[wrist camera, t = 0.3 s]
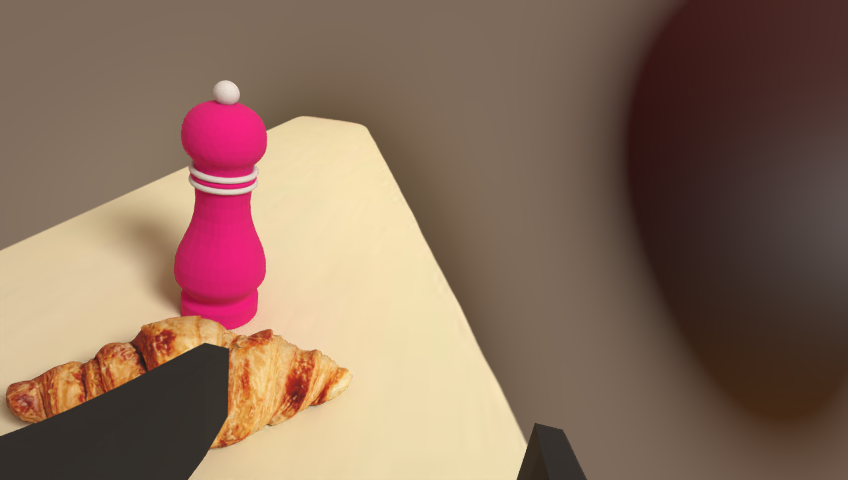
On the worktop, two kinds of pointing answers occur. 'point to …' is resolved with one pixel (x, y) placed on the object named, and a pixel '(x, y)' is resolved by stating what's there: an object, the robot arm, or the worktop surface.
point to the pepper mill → (222, 211)
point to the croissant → (162, 341)
